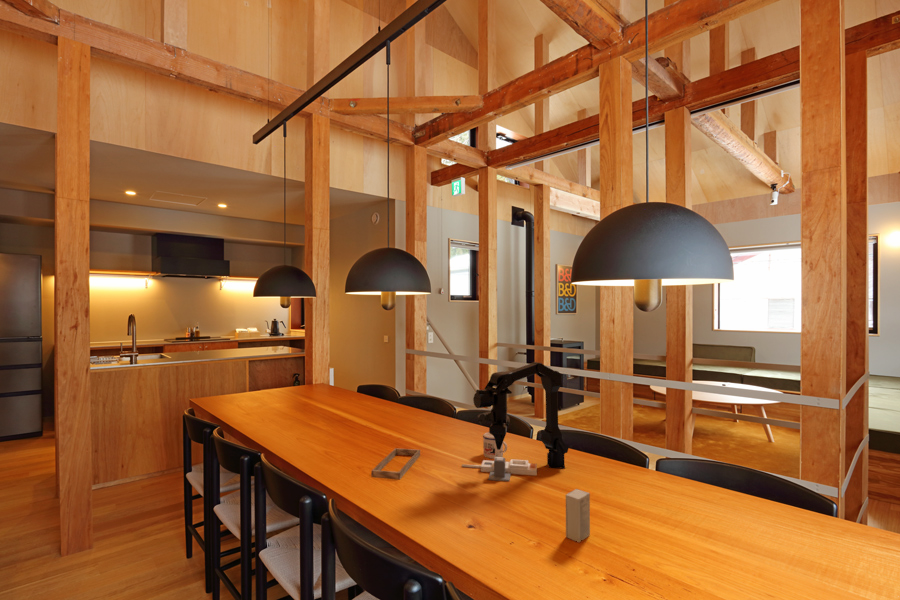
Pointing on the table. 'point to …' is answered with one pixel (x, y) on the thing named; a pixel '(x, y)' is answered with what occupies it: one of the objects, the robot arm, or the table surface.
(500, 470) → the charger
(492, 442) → the teacup with lid
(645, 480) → the table surface
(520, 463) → the power strip
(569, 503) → the skincare box
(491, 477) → the coaster
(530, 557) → the table surface
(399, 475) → the wooden frame
